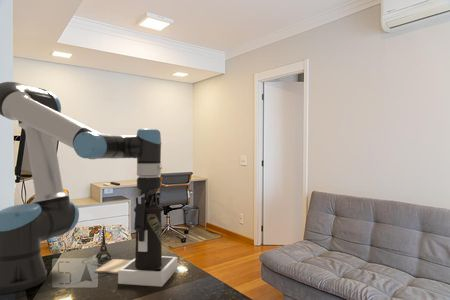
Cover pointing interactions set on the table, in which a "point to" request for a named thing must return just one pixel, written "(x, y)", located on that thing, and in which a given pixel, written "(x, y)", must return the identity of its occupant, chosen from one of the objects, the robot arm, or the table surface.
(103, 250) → the eiffel tower figurine
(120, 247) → the table surface
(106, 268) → the cork mat
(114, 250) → the table surface
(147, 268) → the container
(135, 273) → the frame
